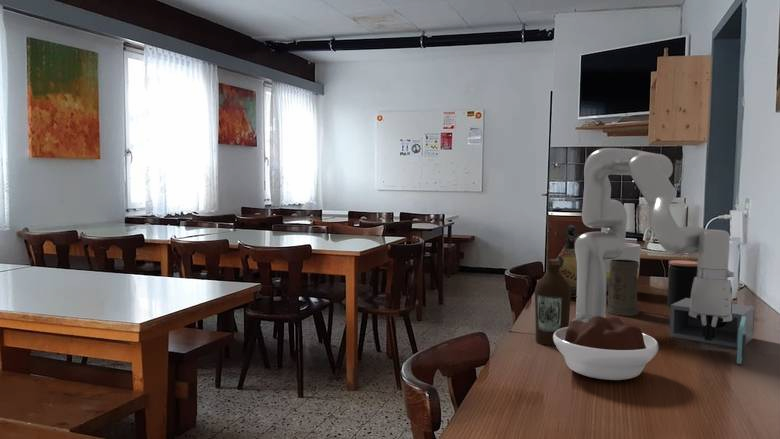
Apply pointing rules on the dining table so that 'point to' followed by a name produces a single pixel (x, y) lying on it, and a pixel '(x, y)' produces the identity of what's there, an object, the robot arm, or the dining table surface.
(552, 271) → the olive oil
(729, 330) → the grey cabinet
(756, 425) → the dining table surface
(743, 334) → the side door
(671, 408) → the dining table surface
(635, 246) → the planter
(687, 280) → the coffee jar
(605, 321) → the white dessert bowl
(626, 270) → the beer stein
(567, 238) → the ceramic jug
